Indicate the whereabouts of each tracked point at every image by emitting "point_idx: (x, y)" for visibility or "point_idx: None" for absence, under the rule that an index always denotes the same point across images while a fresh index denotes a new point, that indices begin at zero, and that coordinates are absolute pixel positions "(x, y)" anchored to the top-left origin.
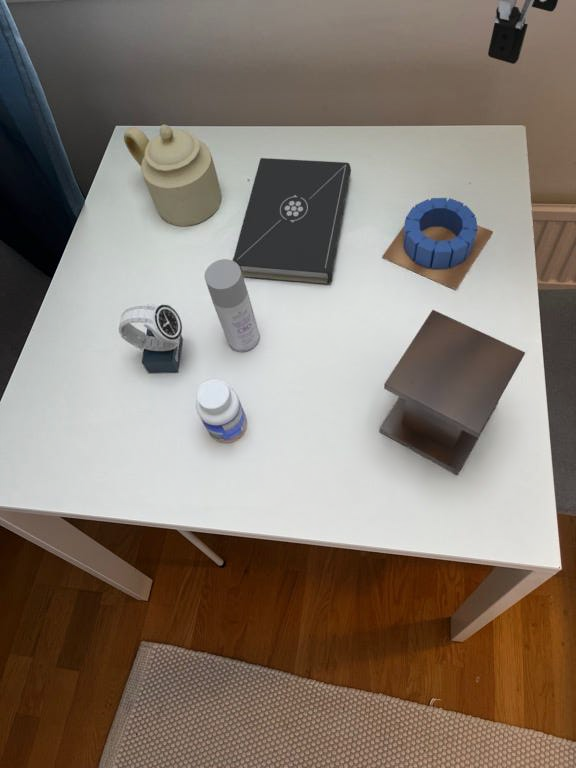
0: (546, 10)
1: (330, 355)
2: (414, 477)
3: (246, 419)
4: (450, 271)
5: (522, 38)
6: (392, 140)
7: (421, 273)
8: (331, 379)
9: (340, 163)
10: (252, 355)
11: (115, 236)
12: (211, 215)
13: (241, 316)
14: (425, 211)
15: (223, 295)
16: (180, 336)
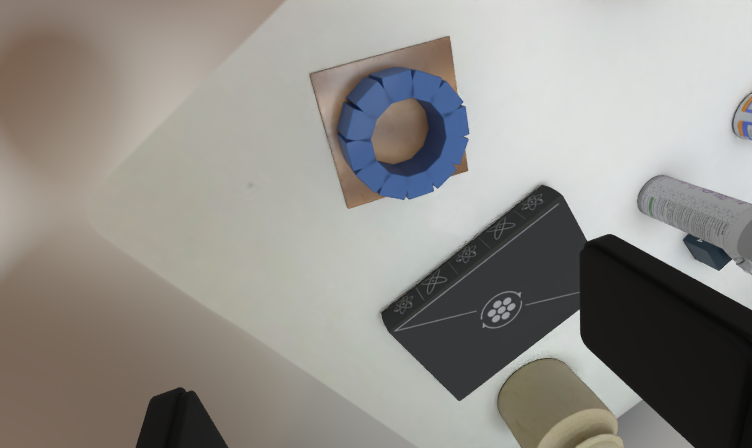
0: (201, 405)
1: (629, 96)
2: None
3: (749, 100)
4: (427, 69)
5: (719, 295)
6: (277, 332)
7: None
8: (657, 66)
9: (398, 337)
10: (669, 168)
11: (610, 391)
12: (539, 360)
13: (743, 201)
14: (405, 177)
15: None
16: (693, 242)
